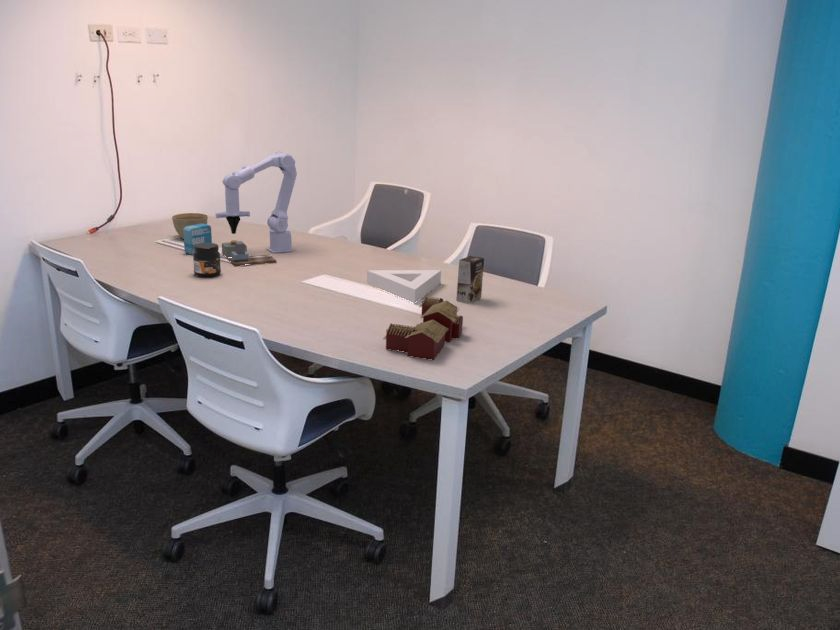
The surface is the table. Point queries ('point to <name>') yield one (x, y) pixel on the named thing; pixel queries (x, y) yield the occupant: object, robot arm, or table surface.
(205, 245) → the supplement container
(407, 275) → the triangle block
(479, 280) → the coffee box
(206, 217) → the planter bowl
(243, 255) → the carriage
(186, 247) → the data package
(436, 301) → the toy houses
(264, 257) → the rail
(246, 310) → the table surface
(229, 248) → the cabinet
